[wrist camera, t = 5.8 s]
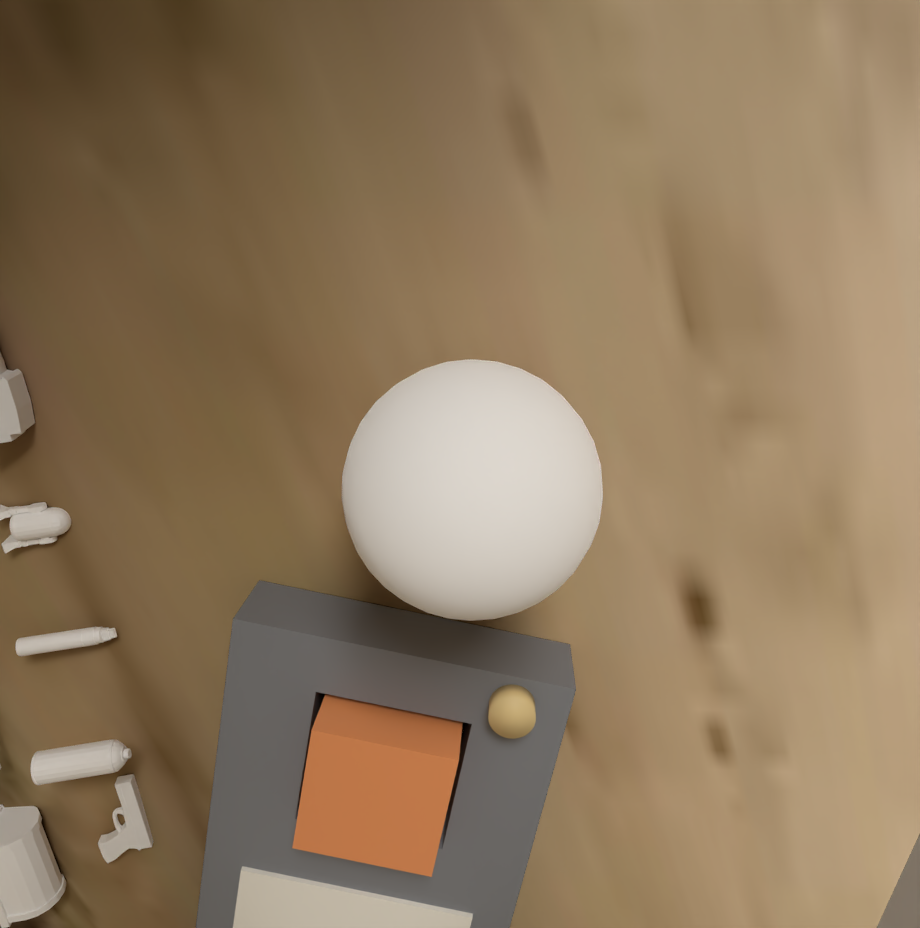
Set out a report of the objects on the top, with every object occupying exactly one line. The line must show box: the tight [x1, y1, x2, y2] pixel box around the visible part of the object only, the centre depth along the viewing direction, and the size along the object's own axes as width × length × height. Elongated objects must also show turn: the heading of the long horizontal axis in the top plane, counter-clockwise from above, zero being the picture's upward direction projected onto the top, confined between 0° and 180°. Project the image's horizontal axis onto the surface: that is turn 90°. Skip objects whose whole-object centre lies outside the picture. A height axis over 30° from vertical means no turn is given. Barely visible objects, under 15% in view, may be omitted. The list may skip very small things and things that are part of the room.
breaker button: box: [292, 694, 463, 877], centre depth 29 cm, size 5×5×4 cm
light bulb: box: [342, 359, 603, 621], centre depth 23 cm, size 7×7×11 cm
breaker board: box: [196, 580, 576, 928], centre depth 32 cm, size 20×12×4 cm, turn 169°
